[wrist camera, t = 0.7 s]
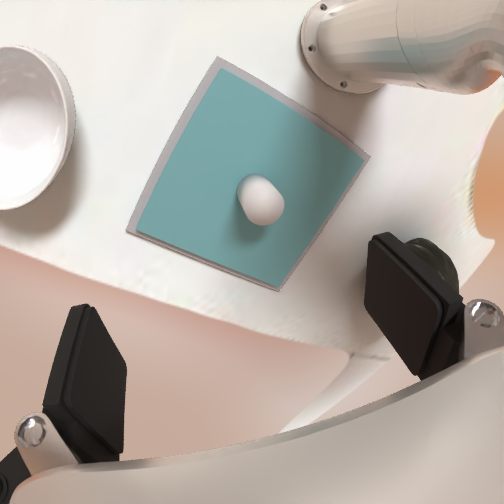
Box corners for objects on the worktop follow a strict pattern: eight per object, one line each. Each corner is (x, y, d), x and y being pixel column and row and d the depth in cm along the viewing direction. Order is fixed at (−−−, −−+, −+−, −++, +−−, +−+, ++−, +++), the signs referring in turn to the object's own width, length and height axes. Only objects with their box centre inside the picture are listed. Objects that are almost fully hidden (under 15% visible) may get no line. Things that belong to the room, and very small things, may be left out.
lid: (220, 68, 29) (228, 64, 24) (361, 158, 37) (386, 172, 32) (136, 226, 36) (130, 250, 31) (276, 283, 44) (289, 310, 39)
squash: (357, 345, 47) (447, 366, 38) (348, 270, 40) (463, 288, 30) (386, 288, 56) (462, 300, 46) (380, 217, 48) (470, 225, 39)
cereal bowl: (-45, 143, 25) (-77, 158, 19) (19, 25, 21) (-12, 17, 15) (42, 215, 33) (19, 241, 27) (119, 99, 29) (103, 103, 23)
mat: (217, 56, 29) (217, 56, 28) (368, 155, 38) (370, 156, 37) (126, 228, 36) (125, 230, 36) (277, 289, 45) (278, 291, 45)
